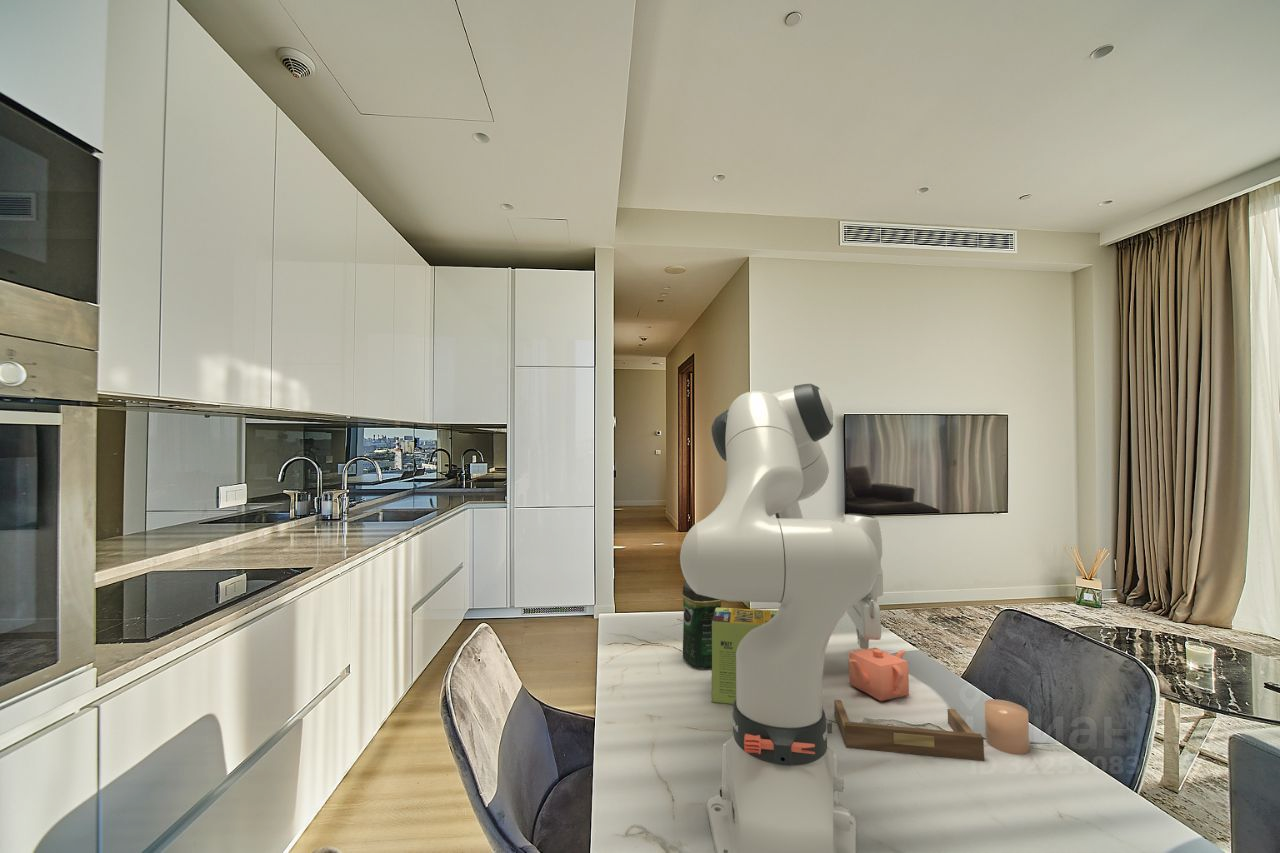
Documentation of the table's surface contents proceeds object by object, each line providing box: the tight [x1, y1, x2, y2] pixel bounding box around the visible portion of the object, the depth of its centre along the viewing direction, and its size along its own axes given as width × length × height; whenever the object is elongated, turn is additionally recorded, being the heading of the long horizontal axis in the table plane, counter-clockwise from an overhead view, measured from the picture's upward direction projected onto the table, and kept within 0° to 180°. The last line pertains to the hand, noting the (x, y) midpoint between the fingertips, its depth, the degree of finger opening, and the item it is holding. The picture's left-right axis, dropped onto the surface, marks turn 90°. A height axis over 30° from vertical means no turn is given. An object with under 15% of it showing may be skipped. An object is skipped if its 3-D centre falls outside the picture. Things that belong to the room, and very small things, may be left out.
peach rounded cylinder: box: [983, 698, 1031, 756], centre depth 90 cm, size 6×6×6 cm
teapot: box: [847, 647, 910, 702], centre depth 109 cm, size 12×15×8 cm
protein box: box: [711, 607, 778, 705], centre depth 108 cm, size 10×15×16 cm
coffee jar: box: [682, 581, 723, 670], centre depth 125 cm, size 10×8×19 cm
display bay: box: [833, 699, 985, 762], centre depth 92 cm, size 12×20×4 cm, turn 79°
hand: (863, 647), depth 123 cm, fingers closed
